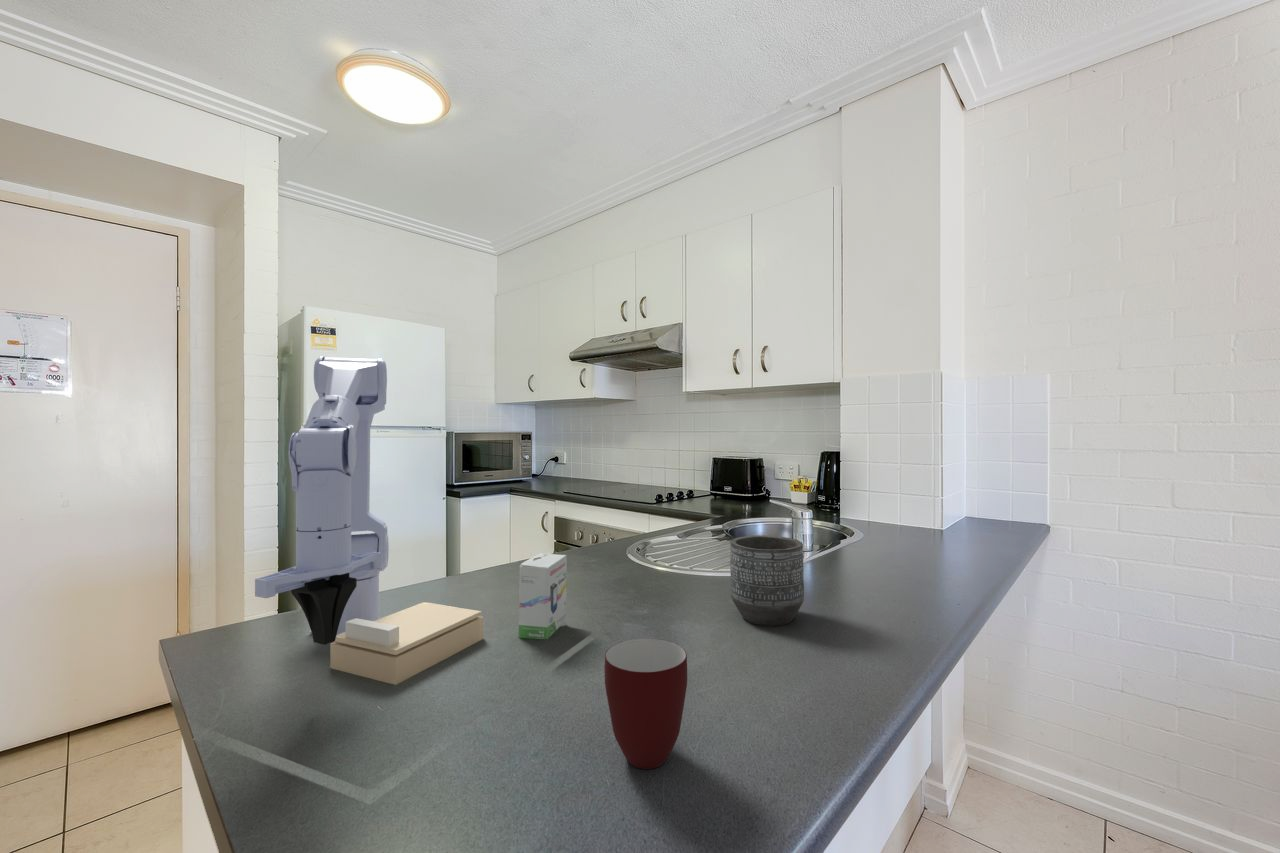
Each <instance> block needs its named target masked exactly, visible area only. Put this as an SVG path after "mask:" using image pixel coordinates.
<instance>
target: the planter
mask: <svg viewBox="0 0 1280 853" xmlns="http://www.w3.org/2000/svg"><path fill="white" fill-rule="evenodd" d="M729 548H730V554H729V555H730V556H729V559H730V560H729V562H730V564H729V566H730V586H729V587H730V590H729V591H730V598H731V600H732V602H733V603H734V605H735V608H736V609H737V611H738V612H739V614H740V615H741V616H742V618H743V619H744V620H745V621H747V622H748V623H751V624H755V625H758V626H759V625H760V626H765V627H767V626H768V627H770V626H771V627H777V626H784V625H787V624H790V623H791V622H792V621H793V620H794V618H795V616H796V615H797V613H798V612H799V611H800V609H801V607H802V605H803V603H804V601H805V600H804V599H805V598H804V597H805V583H804V582H805V581H804V579H805V578H804V575H805V574H804V570H805V569H804V568H805V567H804V566H805V565H804V543H803V542H802V541H800V540H798V539H795V538H791V537H786V536H775V535H747V536H745V535H743V536H739V537H736V538H732V539H731V540H730V547H729Z"/></svg>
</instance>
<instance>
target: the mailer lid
mask: <svg viewBox="0 0 1280 853" xmlns="http://www.w3.org/2000/svg"><path fill="white" fill-rule="evenodd" d="M479 616H480V617H482V611H481V610H475V609H471V608H470V609H469V608H462V607H457V606H452V605H451V606H450V605H444V604H439V603H433V602H427V601H426V602H425V601H423V602H420V603H417V604H415V605H413V606H410V607H407V608H404V609H402V610H399V611H396V612H393V613H391V614H389V615H386V616H384V617H379V619H378V620H375V621H368V620H363V619H358V618H355V619H352V620H350V621H347V622H345V632H343V633H341V634H337V635H336V639H335V641H334V642H339V643H344V644H348V645H353V646H357V647H362V648H366V649H370V650H375V651H379V652H384V653H388V654H393V655H397V654H399V653H402V652H404V651H406V650H408V649H410V648H412V647H414V646H417V645H419V644H421V643H423V642H425V641H427V640H430V639H432V638H434V637H436V636H438V635H440V634H442V633H445V632H447V631H449V630H451V629H453V628H455V627H457V626H460V625H462V624H464V623H466V622H468V621H470V620H473V619H475V618H477V617H479Z"/></svg>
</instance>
